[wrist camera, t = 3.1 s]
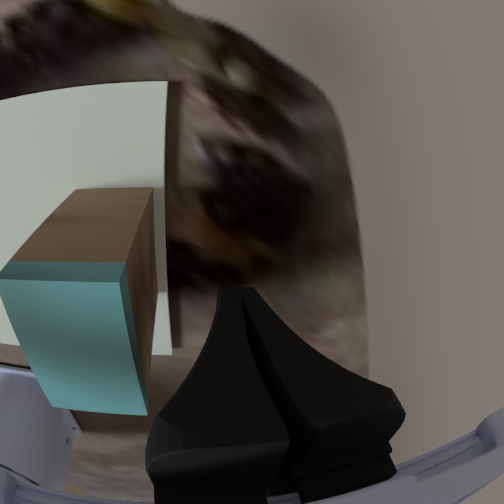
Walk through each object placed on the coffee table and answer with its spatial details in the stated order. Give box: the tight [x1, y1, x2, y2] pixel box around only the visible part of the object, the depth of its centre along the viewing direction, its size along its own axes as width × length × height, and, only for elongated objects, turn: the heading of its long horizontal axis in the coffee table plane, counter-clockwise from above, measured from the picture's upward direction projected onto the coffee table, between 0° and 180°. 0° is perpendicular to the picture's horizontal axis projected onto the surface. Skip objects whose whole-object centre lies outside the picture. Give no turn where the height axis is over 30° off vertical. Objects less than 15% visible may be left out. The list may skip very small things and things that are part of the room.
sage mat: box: [0, 81, 173, 355], centre depth 15 cm, size 16×14×1 cm
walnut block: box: [0, 187, 158, 415], centre depth 12 cm, size 6×4×8 cm, turn 175°
